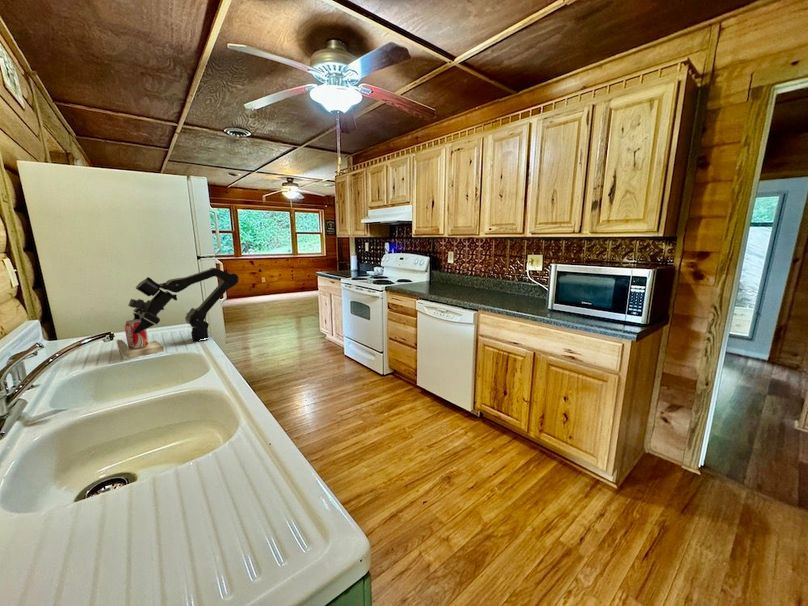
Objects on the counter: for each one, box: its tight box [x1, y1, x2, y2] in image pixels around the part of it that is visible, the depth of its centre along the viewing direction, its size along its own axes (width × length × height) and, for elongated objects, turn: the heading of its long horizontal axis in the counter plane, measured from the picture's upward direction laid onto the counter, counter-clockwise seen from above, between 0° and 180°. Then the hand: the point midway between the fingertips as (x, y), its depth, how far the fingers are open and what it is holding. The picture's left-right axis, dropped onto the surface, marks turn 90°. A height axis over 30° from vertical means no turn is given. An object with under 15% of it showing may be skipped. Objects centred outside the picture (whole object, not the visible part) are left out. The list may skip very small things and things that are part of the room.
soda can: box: [124, 319, 149, 349], centre depth 143 cm, size 7×7×12 cm
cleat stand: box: [116, 339, 164, 360], centre depth 145 cm, size 14×12×6 cm
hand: (131, 331), depth 142 cm, fingers open, 9 cm apart
